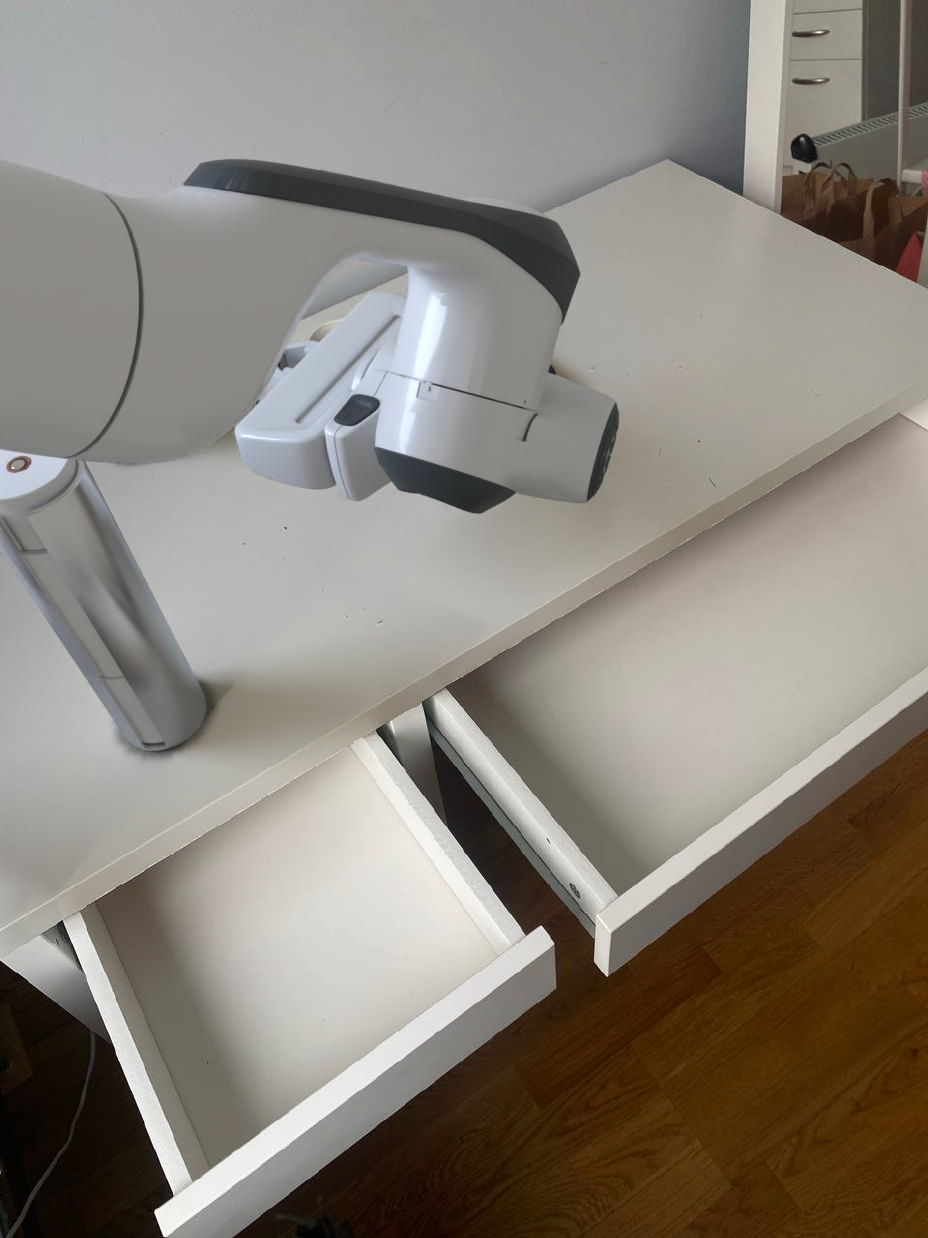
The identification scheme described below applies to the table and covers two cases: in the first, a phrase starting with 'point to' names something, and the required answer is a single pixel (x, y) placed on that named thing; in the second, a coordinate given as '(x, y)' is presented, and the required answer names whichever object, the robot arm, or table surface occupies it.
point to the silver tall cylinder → (96, 598)
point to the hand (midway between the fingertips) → (261, 359)
